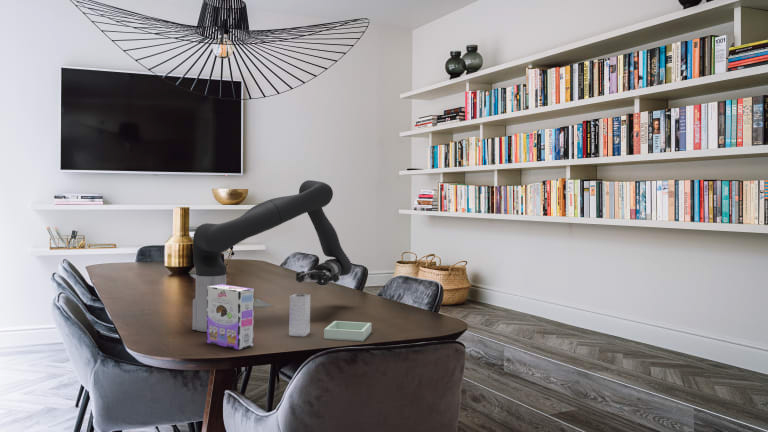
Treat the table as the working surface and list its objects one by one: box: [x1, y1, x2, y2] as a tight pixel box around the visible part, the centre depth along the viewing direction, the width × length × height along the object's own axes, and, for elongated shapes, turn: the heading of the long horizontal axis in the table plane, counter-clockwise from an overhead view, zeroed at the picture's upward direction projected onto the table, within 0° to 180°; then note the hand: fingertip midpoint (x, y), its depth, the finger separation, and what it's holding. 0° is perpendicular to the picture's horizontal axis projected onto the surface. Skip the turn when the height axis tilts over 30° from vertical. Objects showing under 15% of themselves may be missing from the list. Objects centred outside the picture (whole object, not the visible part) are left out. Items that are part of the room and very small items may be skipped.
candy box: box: [206, 284, 255, 351], centre depth 162 cm, size 14×6×16 cm, turn 56°
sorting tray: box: [323, 320, 372, 343], centre depth 176 cm, size 12×12×3 cm
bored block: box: [288, 293, 311, 338], centre depth 177 cm, size 5×5×12 cm
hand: (311, 279), depth 187 cm, fingers open, 8 cm apart
